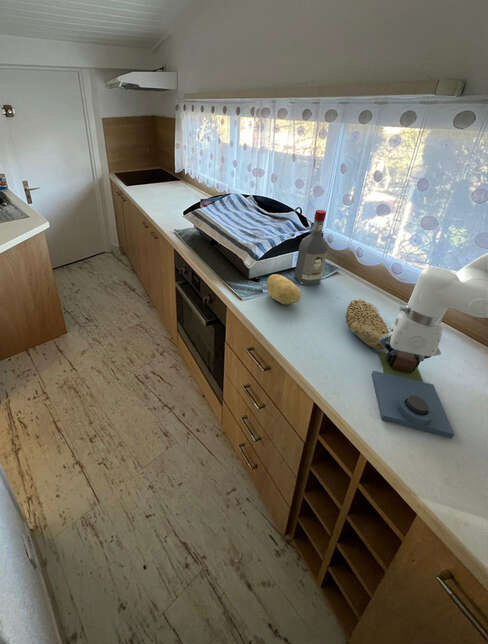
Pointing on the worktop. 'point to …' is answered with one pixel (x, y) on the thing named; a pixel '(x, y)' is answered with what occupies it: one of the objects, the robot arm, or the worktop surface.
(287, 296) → the potato
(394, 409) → the box
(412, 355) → the block
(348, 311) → the sponge
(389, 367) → the pad
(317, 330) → the worktop surface
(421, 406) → the button
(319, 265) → the liquor
